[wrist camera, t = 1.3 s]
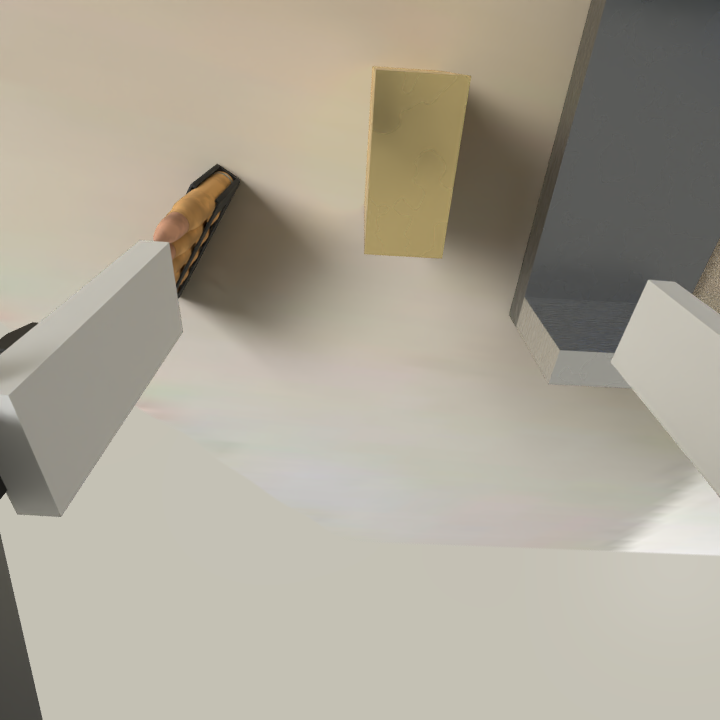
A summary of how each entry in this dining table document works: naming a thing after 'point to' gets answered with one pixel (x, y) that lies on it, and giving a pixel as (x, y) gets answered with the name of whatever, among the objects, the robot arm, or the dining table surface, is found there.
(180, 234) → the ammunition clip
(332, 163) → the dining table surface
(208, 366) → the dining table surface
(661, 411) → the robot arm
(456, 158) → the brass block
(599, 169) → the grey l-shaped bracket
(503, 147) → the dining table surface
